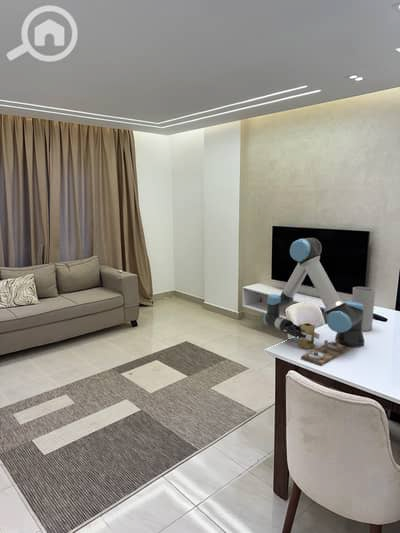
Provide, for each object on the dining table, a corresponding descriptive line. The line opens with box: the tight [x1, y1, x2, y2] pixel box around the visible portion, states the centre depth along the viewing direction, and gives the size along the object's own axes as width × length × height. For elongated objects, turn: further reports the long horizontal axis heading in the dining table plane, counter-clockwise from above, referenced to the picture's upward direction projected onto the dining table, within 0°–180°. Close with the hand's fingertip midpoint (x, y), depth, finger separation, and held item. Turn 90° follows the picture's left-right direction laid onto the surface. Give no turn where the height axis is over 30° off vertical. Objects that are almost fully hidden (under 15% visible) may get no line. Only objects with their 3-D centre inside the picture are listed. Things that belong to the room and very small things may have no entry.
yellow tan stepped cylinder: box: [298, 322, 316, 350], centre depth 200 cm, size 9×9×12 cm
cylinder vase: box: [351, 286, 376, 332], centre depth 229 cm, size 12×12×25 cm
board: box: [300, 339, 349, 367], centre depth 190 cm, size 28×11×8 cm, turn 133°
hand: (314, 337), depth 196 cm, fingers closed on yellow tan stepped cylinder, 5 cm apart
